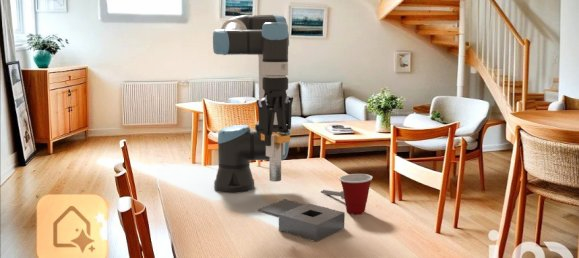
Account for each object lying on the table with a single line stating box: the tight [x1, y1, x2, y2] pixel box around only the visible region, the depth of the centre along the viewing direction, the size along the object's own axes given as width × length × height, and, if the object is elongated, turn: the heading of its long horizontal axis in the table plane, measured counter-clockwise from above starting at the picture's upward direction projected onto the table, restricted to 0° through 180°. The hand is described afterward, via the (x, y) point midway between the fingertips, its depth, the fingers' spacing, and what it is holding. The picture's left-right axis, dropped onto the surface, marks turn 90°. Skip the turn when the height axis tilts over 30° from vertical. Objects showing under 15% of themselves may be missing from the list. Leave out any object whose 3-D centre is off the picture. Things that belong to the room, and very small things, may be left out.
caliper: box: [320, 189, 345, 200], centre depth 193 cm, size 20×1×6 cm, turn 28°
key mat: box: [257, 198, 305, 218], centre depth 182 cm, size 16×14×1 cm
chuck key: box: [261, 132, 291, 182], centre depth 164 cm, size 8×4×14 cm, turn 49°
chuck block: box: [278, 202, 346, 243], centre depth 164 cm, size 14×14×5 cm
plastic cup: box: [338, 173, 374, 216], centre depth 180 cm, size 11×11×12 cm
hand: (275, 155), depth 164 cm, fingers closed on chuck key, 4 cm apart
